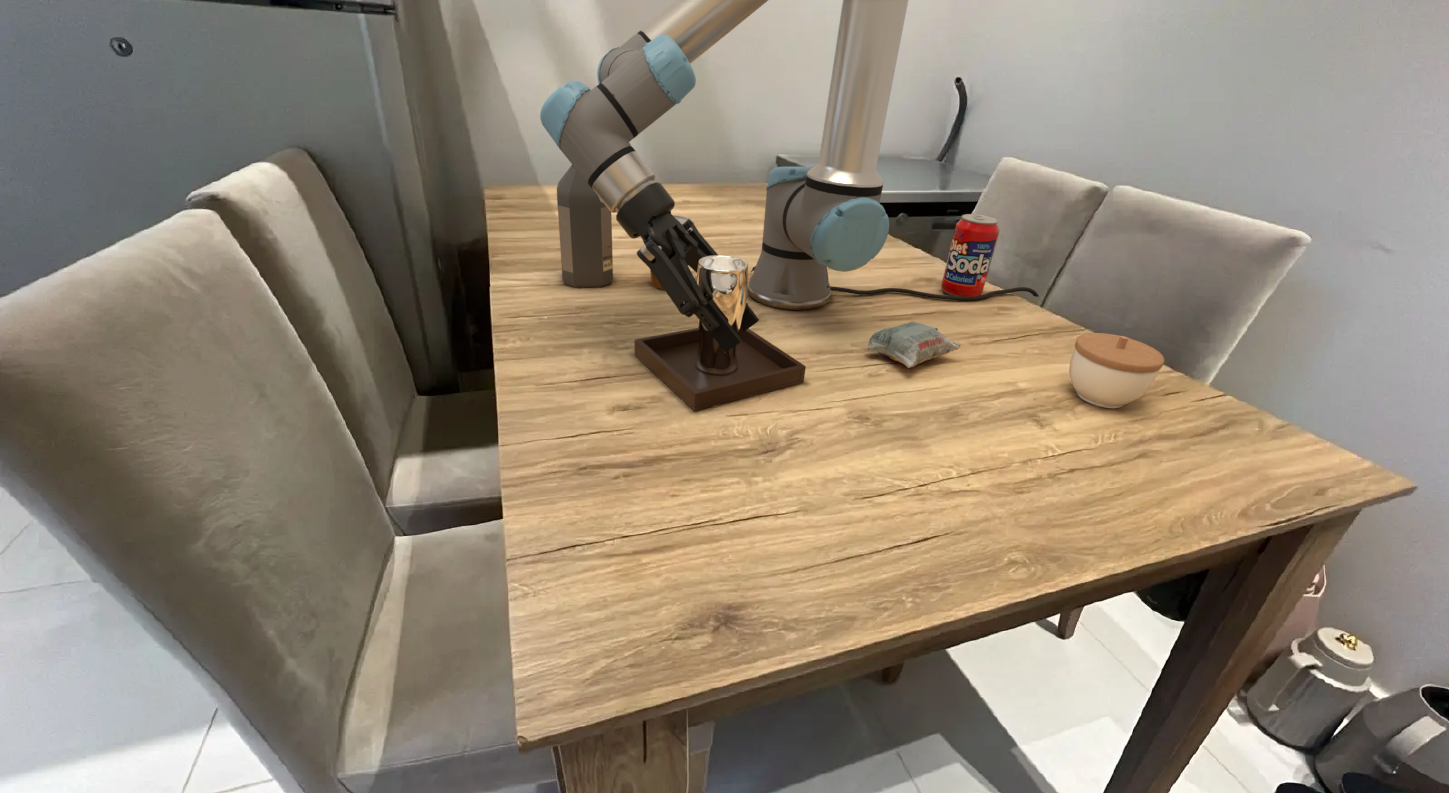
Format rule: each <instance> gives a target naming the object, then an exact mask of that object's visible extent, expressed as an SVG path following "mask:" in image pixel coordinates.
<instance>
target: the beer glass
mask: <svg viewBox="0 0 1449 793" xmlns="http://www.w3.org/2000/svg"><path fill="white" fill-rule="evenodd" d="M748 266H749V264H748V262H747V261H746V260H744V259H743V258H739V257H737V256H736V257H735V256H732V255H722V254H718V255H713V256H706V257H703V258H701V259H699V261H698V269H697V273H696V277H695V280H696V282H697V284H698V286H699V288H700V290H701V291H702V293H703V295H704V297H705V299H706V301H707V304H708V303H709V302H710V301H712V302H713V304H714V305H715V306H716V307H717V309H718V310H719V311H720V312H721V314H722V315H723V316H724V318H725V319H726V320H727V321H728V323H729V324H730V325H731V327H732V328H733V329H734V330H735V332H736V333H737V334H739V330H740V326H741V323H742V319H743V315H744V311H745V306H746V303H747V299H748V286H749V281H748V280H749V277H748V276H749V275H748V274H749V273H748V268H749V267H748ZM707 304H706V305H707ZM696 324H697V328H698V330H699V347H698V352H697V356H696V360H695V365H696V367H697V368H698V369H699V370H701V371H703V372H705V373H709V374H716V375H722V374H728V373H731V372H733V371H735V370H736V369H737V367H738V361H737V352H736V346H734V347H733V348H731V349H730V350H729V351H727V352H725V351H724V350H723V349H722V347H721V346H720V345H719V344H718V342H717V341H716V340H715V339H714V337H713V336H712V335H711V334H710V332H709V331H708V330H707V329H706V327H705V326H704V325H703V323H702V322H701V321H700V320H699V318H698V317H697V316H696Z"/></svg>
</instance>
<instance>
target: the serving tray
mask: <svg viewBox="0 0 1449 793" xmlns="http://www.w3.org/2000/svg"><path fill="white" fill-rule="evenodd" d="M738 335H739V337H740V338H741V339H742V341H741V342H740V343H739V344H737V345H736V352H737V361H738V367H737V369H736V370H735V371H733V372H731V373H728V374H722V375H716V374H709V373H705V372H703V371H701V370H699V369H698V368H697V367H696V365H695V360H696V356H697V352H698V347H699V330H698V327H694V328H689V329H684V330H678V331H674V332H667V333H662V334H657V335H653V336H652V335H651V336H646V337H641V338H636V339H634V356H635V357H636V359H638V360H639V362H641V363H642V364H643V365H644V366H645V367H646V368H647V369H648V370H650V371H651V372H652V373H653V375H655V376H656V377H657V378H658V379H659V380H660V381H661V382H662V383H663V384H664V385H666V386H667V388H669V389H670V391H672V392H673V393H674V394H675V395H676V396H677V397H678V398H679V399H680V400H681V401H682V402H683V403H684V404H685V405H687V406H688V407H689V408H690V409H691V410H692V411H693V412H697V411H701V410H705V409H708V408H713V407H716V406H720V405H725V404H728V403H731V402H735V401H739V400H743V399H747V398H750V397H754V396H758V395H763V394H765V393H766V394H767V393H769V392H773V391H777V390H781V389H785V388H789V387H792V386H796V385H800V384H804V382H805V375H806V368H807V367H806V365H805V364H803V363H802V362H800V361H798V360H797V359H795V358H794V357H792V356H791V355H790V354H788V353H786V352H785V351H783V350H782V349H781V348H779V347H777V346H776V345H774V344H773V343H772V342H770V341H768V340H767V339H765V338H764V337H763V336H761V335H759V334H758V333H756V332H755V331H753V330H752V329H750V328H748V329H747V330H746V331H743V330H742V328H741V327H740V330H739V334H738Z"/></svg>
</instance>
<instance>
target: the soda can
mask: <svg viewBox="0 0 1449 793" xmlns="http://www.w3.org/2000/svg"><path fill="white" fill-rule="evenodd" d="M998 223H999V220H998V219H997V218H995V217H992V216H988V215H984V214H974V213H966V214H962V215H961V219H959V221H957V223H955V227H954V230H953V234H952V239H951V243H950V246H949V252H948V256H947V260H946V264H945V268H944V272H943V276H942V280H941V285H940V288H941V290H942V291H943V292H945V294H946V295H949V296H969V297H975V296H979V295H983V291H984V288H985V285H986V281H987V277H988V274H989V270H990V266H991V264H992V259H993V257H994V252H995V249H996V245H997V241H998V238H999V235H1000V228H999V225H998Z"/></svg>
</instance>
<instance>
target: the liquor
mask: <svg viewBox="0 0 1449 793" xmlns="http://www.w3.org/2000/svg"><path fill="white" fill-rule="evenodd" d="M556 201H557V218H558V232H559V247H560V248H559V250H560V262H561V263H560V264H561V278H562V281H563V283H564V285H566V286H568V287H569V286H570V287H573V288H602V287H605V286H608V285H611V283H612V282H613V280H614V269H613V268H614V264H613V262H614V259H613V226H612V225H613V222H612V221H613V220H612V219H613V218H612V212H610V211H609V209H608V208H607V207H606V205H605V204H604V203H603V202H601V201H600V199H599V197H598V195H597V194H596V193H595V191H594V190H593V189H592V188H591V187H590V186H589V184H588V183H587V182H586V181H585V179H584V178H583V177H582V176H581V174H580V173H579V172H578V171H577V170H576V168H575V167H574V166H573V165H572V164H571V165H570V166H569V168H568V169H567V170H566V172H565V173H564V174H563V176H562V177H561V178H560V179H559V181H558V183H557V185H556Z"/></svg>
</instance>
